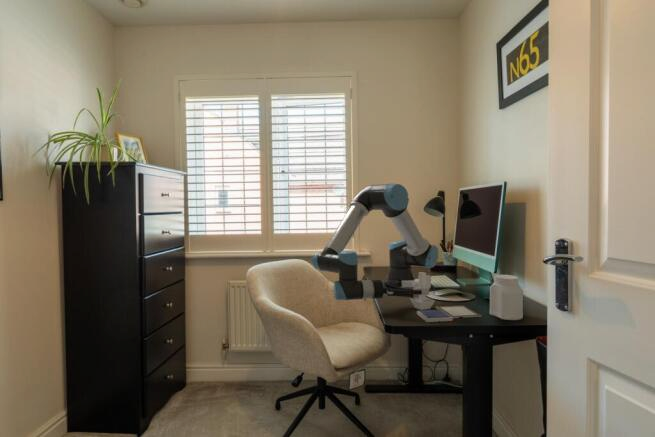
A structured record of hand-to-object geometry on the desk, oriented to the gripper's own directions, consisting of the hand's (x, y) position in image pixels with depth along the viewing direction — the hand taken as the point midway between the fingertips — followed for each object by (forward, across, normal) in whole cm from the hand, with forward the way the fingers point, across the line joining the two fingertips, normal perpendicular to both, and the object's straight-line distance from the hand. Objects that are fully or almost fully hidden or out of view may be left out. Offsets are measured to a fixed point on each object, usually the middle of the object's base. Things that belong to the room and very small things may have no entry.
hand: (422, 287), depth 147 cm
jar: (+28, +14, -9) cm, 33 cm away
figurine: (0, 0, -9) cm, 9 cm away
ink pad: (0, +12, -9) cm, 15 cm away
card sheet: (+12, +7, -9) cm, 16 cm away
